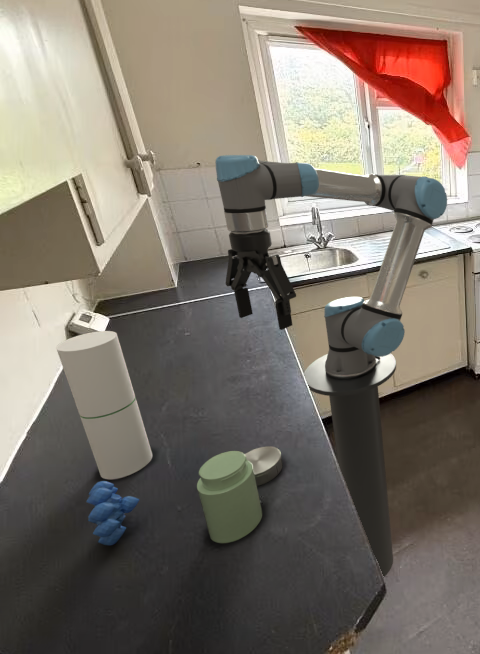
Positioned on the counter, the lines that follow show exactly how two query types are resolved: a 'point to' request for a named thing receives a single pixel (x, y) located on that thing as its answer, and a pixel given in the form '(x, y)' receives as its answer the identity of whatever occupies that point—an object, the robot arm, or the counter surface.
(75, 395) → the container
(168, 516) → the counter surface
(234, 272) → the robot arm
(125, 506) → the grapes
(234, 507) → the flask
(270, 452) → the flask lid
